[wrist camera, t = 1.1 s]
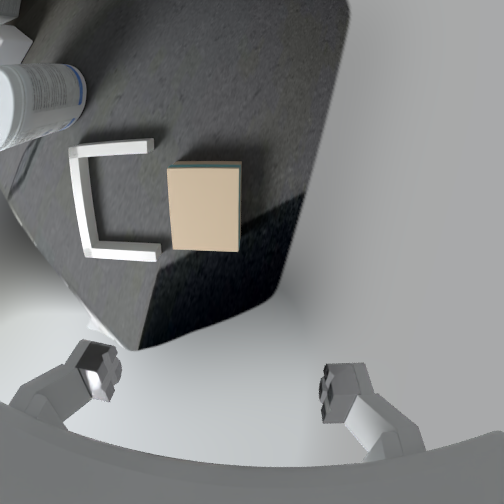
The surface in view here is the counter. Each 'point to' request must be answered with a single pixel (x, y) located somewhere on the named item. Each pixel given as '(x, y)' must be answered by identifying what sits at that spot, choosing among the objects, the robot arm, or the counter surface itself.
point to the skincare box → (9, 10)
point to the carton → (205, 205)
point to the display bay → (85, 201)
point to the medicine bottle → (13, 45)
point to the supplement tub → (38, 100)
